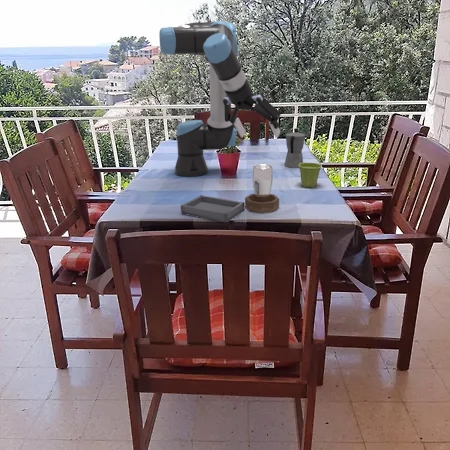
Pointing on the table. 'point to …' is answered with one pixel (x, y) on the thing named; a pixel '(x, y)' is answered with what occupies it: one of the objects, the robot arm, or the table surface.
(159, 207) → the table surface
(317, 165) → the plant pot
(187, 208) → the tray
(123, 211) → the table surface
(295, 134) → the coffeepot
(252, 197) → the ring holder
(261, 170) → the beer glass
